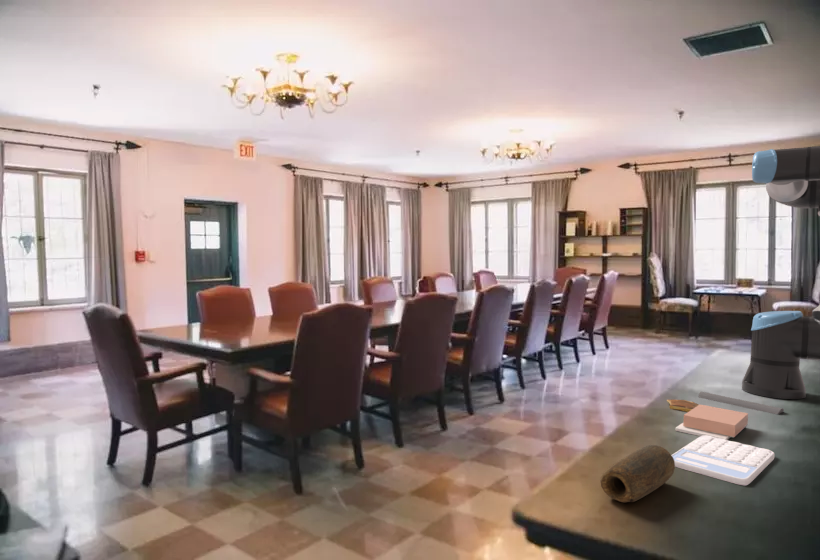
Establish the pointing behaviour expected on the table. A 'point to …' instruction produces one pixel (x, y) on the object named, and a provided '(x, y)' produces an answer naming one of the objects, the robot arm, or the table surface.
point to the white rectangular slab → (698, 432)
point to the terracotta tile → (716, 420)
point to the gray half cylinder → (741, 403)
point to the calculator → (723, 459)
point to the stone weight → (638, 474)
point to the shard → (682, 405)
